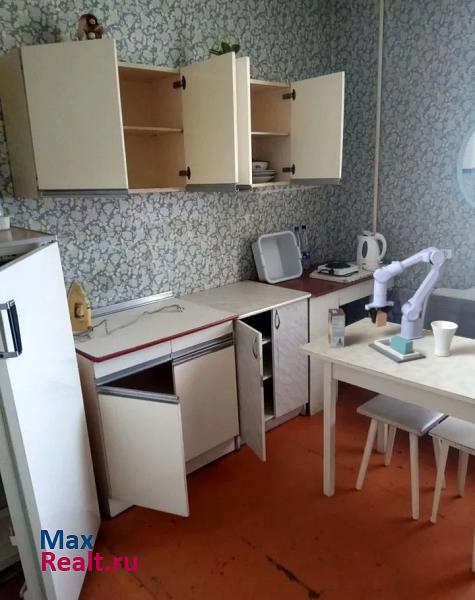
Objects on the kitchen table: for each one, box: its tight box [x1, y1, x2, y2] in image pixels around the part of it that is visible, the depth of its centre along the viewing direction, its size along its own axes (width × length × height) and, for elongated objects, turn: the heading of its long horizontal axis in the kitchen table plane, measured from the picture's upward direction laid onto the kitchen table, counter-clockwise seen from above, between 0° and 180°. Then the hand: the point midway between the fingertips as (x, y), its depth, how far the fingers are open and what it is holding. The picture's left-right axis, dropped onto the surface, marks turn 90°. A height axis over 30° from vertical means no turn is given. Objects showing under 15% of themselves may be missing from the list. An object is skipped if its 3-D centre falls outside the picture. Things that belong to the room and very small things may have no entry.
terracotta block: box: [370, 310, 388, 328], centre depth 222 cm, size 5×5×6 cm
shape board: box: [368, 337, 427, 364], centre depth 205 cm, size 14×21×2 cm, turn 19°
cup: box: [430, 320, 459, 358], centre depth 199 cm, size 10×10×14 cm
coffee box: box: [327, 308, 346, 348], centre depth 215 cm, size 9×6×16 cm
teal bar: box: [390, 335, 414, 355], centre depth 201 cm, size 4×8×6 cm, turn 30°
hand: (378, 321), depth 222 cm, fingers closed on terracotta block, 5 cm apart
